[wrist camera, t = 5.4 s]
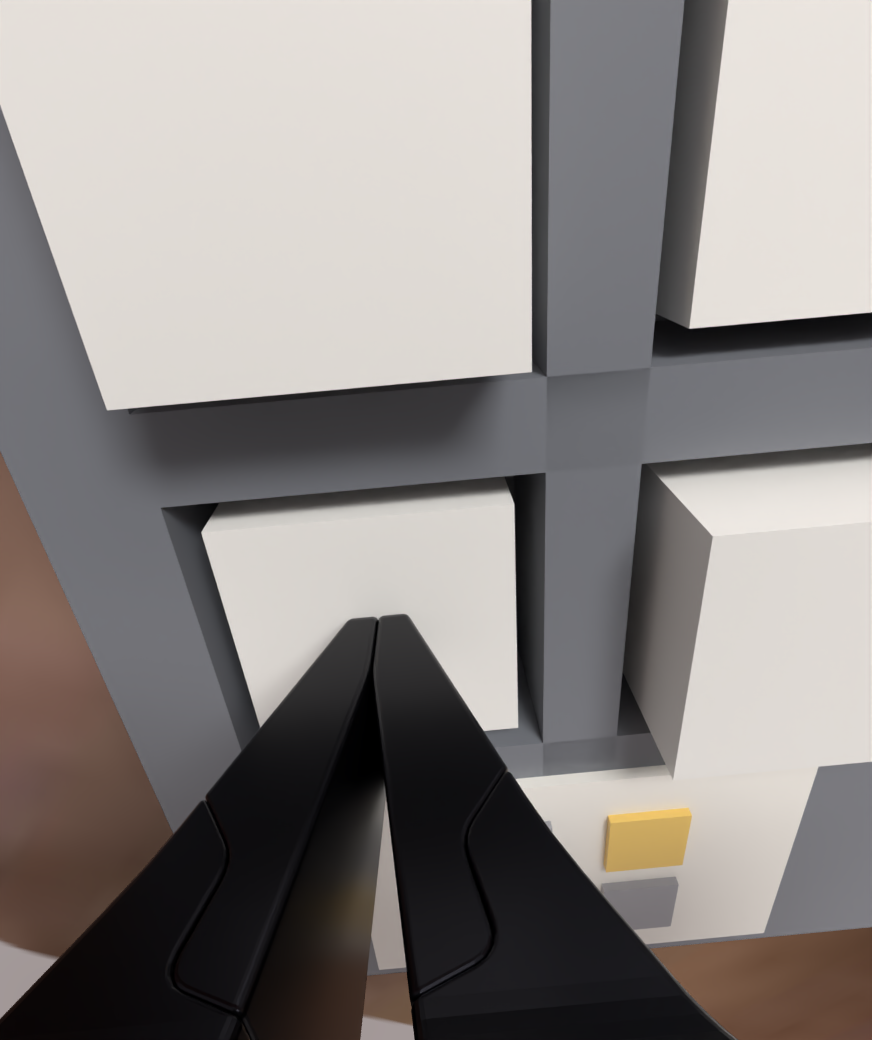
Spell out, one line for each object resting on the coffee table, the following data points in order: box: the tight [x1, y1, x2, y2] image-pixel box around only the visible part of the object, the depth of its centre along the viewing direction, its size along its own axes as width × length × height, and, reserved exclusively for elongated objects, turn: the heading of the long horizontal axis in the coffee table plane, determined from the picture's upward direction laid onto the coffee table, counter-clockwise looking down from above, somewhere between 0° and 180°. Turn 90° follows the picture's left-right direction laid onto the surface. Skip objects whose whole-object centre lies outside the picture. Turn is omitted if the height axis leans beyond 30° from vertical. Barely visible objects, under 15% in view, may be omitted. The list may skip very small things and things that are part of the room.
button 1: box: [0, 0, 532, 410], centre depth 6 cm, size 4×4×2 cm
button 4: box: [623, 443, 872, 780], centre depth 9 cm, size 4×4×2 cm
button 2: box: [201, 476, 518, 731], centre depth 10 cm, size 4×4×2 cm
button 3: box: [656, 0, 872, 329], centre depth 7 cm, size 4×4×2 cm
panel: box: [0, 0, 872, 976], centre depth 10 cm, size 14×20×4 cm
